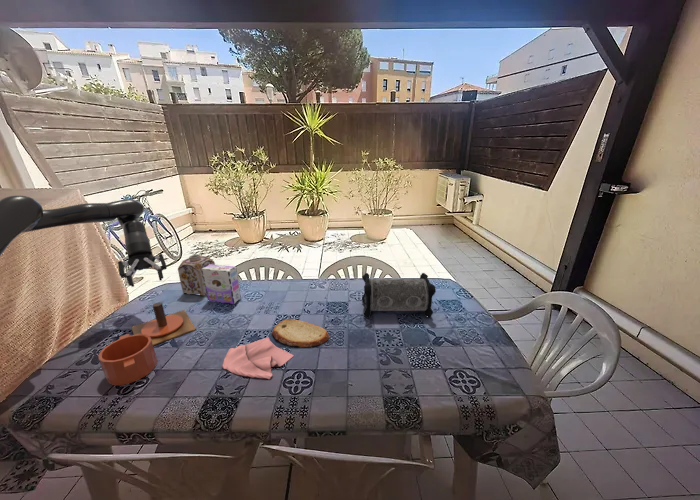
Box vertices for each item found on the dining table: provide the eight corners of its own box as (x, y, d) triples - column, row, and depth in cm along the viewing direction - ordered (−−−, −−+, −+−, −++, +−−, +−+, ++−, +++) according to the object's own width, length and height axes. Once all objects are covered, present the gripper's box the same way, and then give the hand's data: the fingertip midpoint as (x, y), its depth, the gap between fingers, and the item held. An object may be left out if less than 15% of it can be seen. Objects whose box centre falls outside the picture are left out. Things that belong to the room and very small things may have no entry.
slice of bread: (332, 340, 98) (332, 331, 97) (283, 358, 89) (283, 348, 88) (312, 316, 112) (312, 308, 111) (269, 329, 104) (268, 321, 103)
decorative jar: (204, 296, 128) (197, 261, 122) (182, 294, 129) (174, 259, 123) (219, 285, 139) (214, 252, 133) (199, 283, 140) (192, 250, 134)
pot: (108, 398, 74) (99, 374, 71) (106, 363, 87) (97, 341, 84) (162, 375, 82) (155, 352, 79) (152, 346, 94) (146, 325, 92)
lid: (144, 343, 95) (137, 318, 91) (139, 326, 104) (132, 303, 101) (187, 328, 103) (182, 305, 100) (179, 313, 113) (174, 292, 109)
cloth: (222, 349, 93) (221, 343, 92) (285, 333, 102) (285, 327, 101) (222, 394, 76) (221, 387, 75) (299, 370, 84) (299, 364, 83)
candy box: (241, 298, 126) (237, 266, 120) (233, 305, 120) (228, 271, 115) (216, 295, 129) (210, 263, 123) (207, 301, 123) (200, 268, 118)
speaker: (361, 301, 124) (362, 271, 119) (423, 301, 124) (426, 271, 119) (363, 320, 110) (364, 287, 105) (433, 319, 110) (437, 286, 105)
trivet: (137, 351, 92) (137, 350, 92) (131, 327, 104) (131, 326, 104) (196, 330, 103) (195, 328, 103) (184, 310, 116) (184, 309, 116)
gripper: (161, 246, 113) (170, 281, 108) (117, 254, 104) (124, 291, 100) (159, 237, 107) (168, 273, 102) (112, 244, 99) (120, 284, 94)
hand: (146, 282), depth 101 cm, fingers open, 8 cm apart
